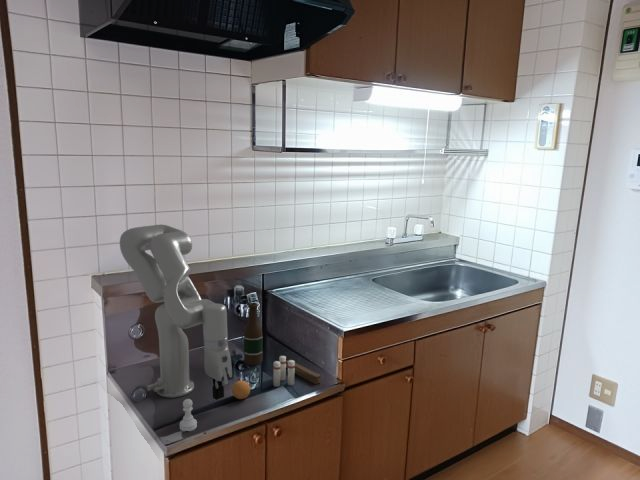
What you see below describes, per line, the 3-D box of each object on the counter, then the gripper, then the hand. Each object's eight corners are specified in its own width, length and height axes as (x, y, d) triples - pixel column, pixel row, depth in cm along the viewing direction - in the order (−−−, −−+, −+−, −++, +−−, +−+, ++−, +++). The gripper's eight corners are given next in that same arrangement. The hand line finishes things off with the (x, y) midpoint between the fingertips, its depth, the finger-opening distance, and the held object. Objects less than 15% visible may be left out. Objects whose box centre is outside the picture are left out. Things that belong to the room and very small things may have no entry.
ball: (238, 404, 161) (238, 387, 160) (228, 397, 166) (228, 381, 165) (253, 398, 165) (253, 381, 164) (243, 392, 170) (243, 375, 169)
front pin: (276, 387, 174) (276, 364, 172) (271, 384, 175) (271, 362, 174) (281, 385, 175) (281, 362, 174) (277, 382, 177) (277, 360, 176)
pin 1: (281, 381, 178) (282, 359, 177) (277, 378, 180) (277, 356, 179) (287, 379, 180) (287, 357, 179) (283, 376, 182) (283, 355, 180)
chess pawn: (190, 421, 151) (189, 393, 149) (200, 427, 147) (199, 399, 146) (176, 427, 147) (175, 399, 145) (186, 433, 144) (185, 405, 142)
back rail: (316, 384, 176) (316, 376, 176) (285, 368, 189) (285, 361, 189) (320, 383, 177) (320, 375, 177) (289, 366, 191) (289, 359, 190)
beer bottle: (259, 366, 190) (259, 307, 186) (240, 364, 192) (239, 305, 188) (265, 359, 198) (265, 301, 194) (247, 357, 199) (247, 300, 195)
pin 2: (290, 386, 175) (290, 363, 173) (286, 383, 177) (286, 361, 175) (295, 383, 176) (296, 361, 175) (291, 381, 178) (291, 359, 177)
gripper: (239, 346, 152) (241, 401, 155) (214, 334, 163) (216, 386, 166) (217, 352, 147) (220, 409, 150) (193, 340, 158) (196, 393, 161)
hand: (218, 397), depth 158 cm, fingers closed
